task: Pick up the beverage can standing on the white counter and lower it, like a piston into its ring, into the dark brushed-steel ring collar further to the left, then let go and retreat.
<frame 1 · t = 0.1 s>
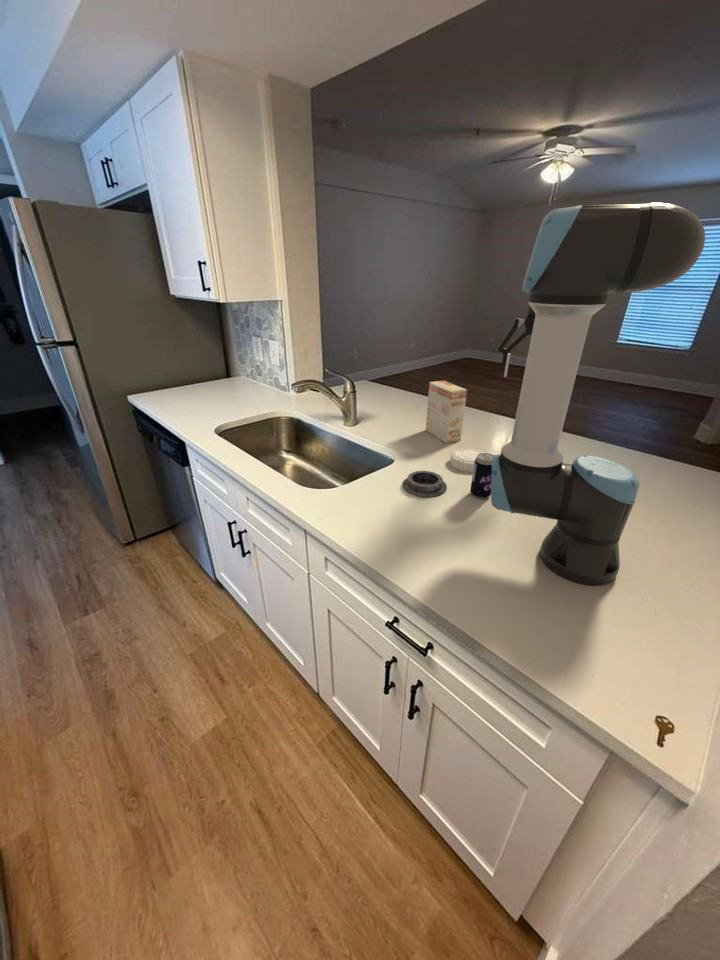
hand: (529, 377, 117), 28 cm above the worktop, fingers open, 13 cm apart
beverage can: (480, 495, 111), on the worktop
mooncake: (468, 465, 129), on the worktop
ring collar: (424, 486, 115), on the worktop
coffeecake box: (442, 435, 151), on the worktop
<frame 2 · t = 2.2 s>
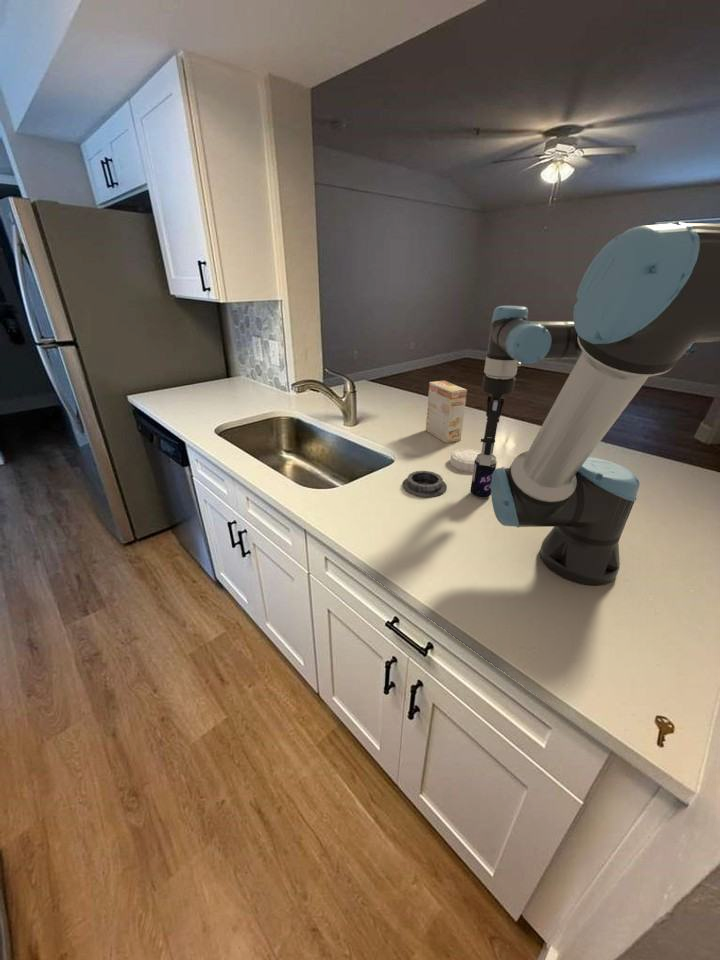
hand: (486, 454, 105), 13 cm above the worktop, fingers open, 13 cm apart
nothing on the worktop moved.
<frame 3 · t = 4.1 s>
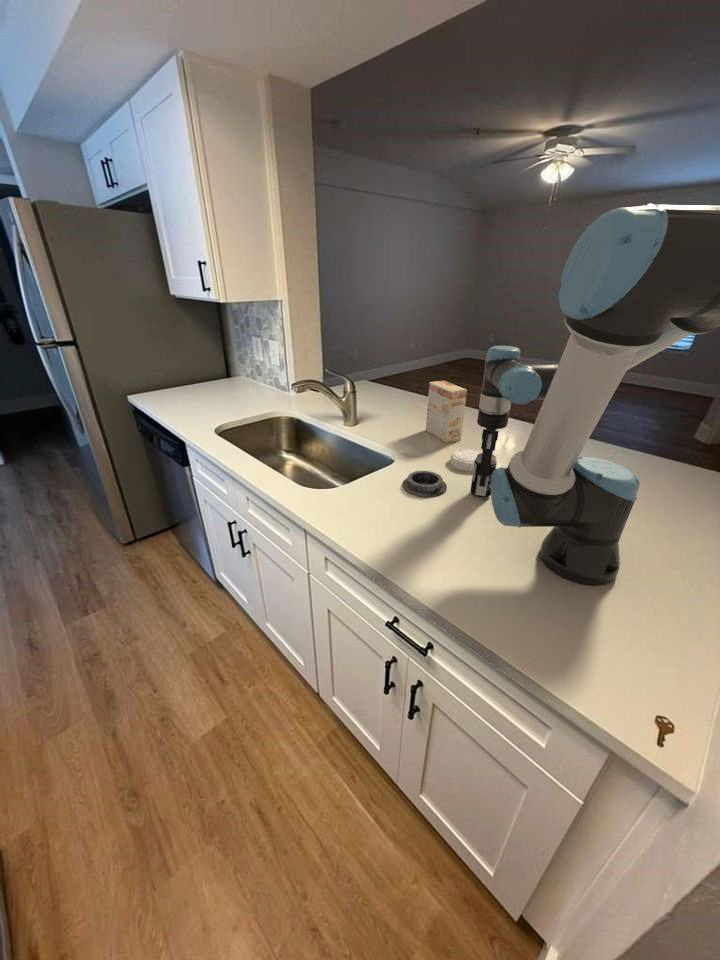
hand: (481, 489, 110), 2 cm above the worktop, fingers closed on beverage can, 6 cm apart
beverage can: (480, 495, 111), on the worktop, touching gripper
everything else where it was.
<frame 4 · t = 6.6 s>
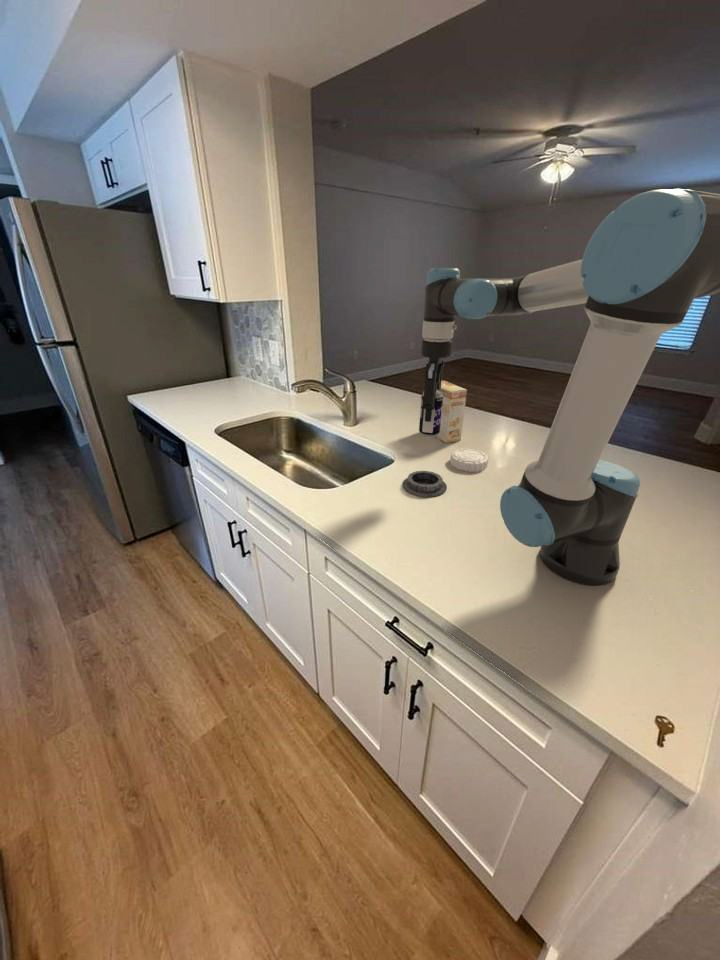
hand: (429, 427, 107), 18 cm above the worktop, fingers closed on beverage can, 6 cm apart
beverage can: (429, 434, 108), point 16 cm above the worktop, touching gripper
everything else where it was.
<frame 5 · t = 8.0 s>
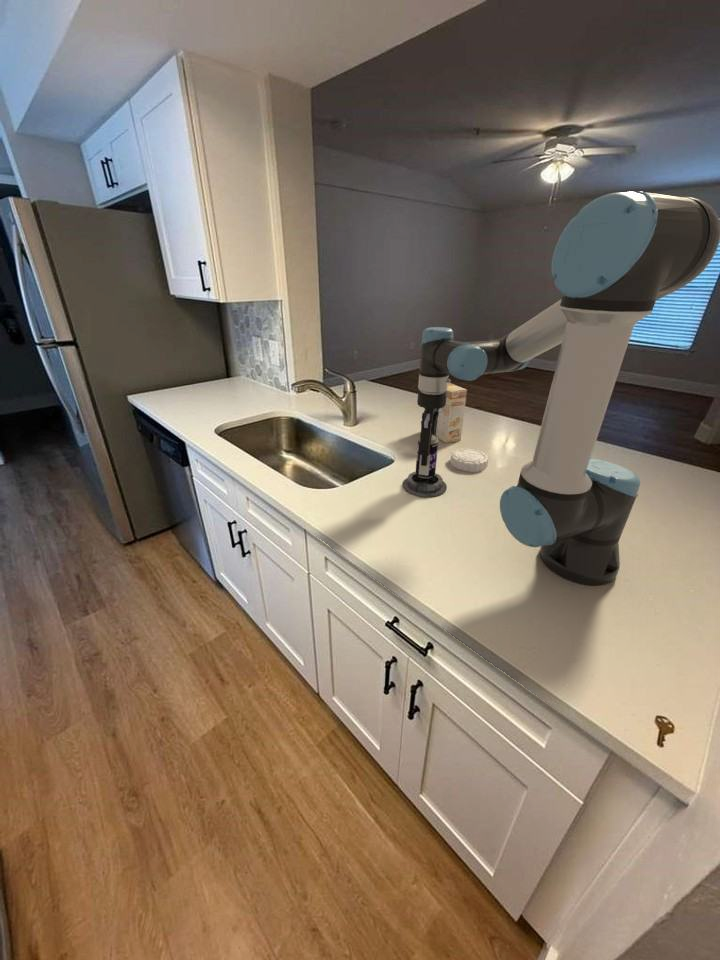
hand: (425, 469, 113), 6 cm above the worktop, fingers closed on beverage can, 6 cm apart
beverage can: (425, 475, 114), point 3 cm above the worktop, touching gripper
everything else where it was.
when the fingers open (4 cm above the worktop, at t = 8.9 s): beverage can drops 2 cm, resting on ring collar.
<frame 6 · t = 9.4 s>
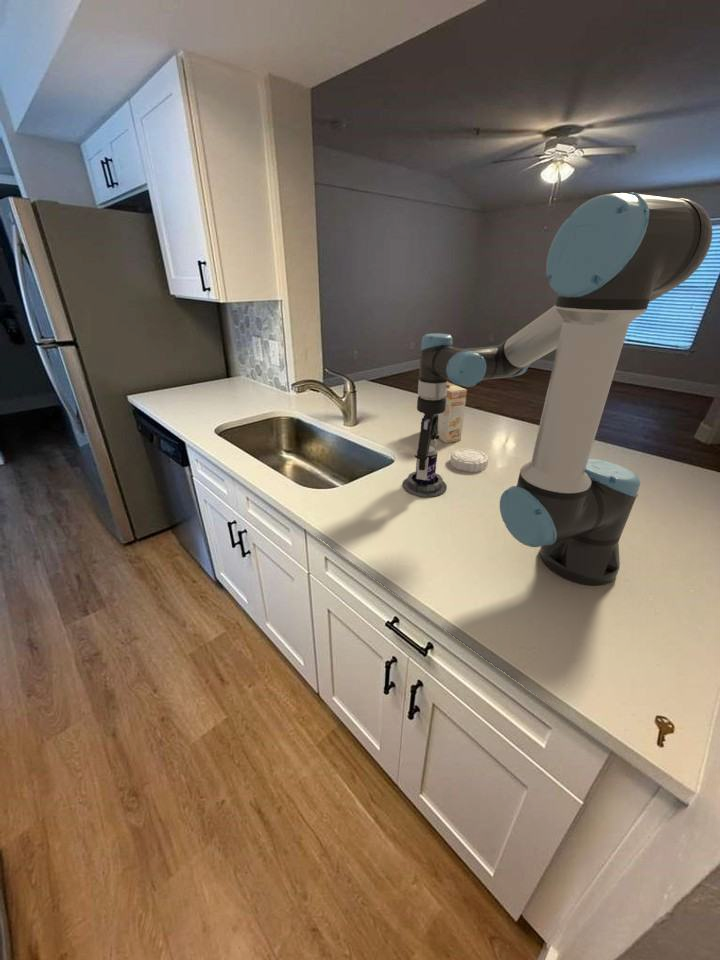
hand: (425, 469, 112), 6 cm above the worktop, fingers open, 12 cm apart
beverage can: (424, 485, 115), resting on ring collar
everything else where it was.
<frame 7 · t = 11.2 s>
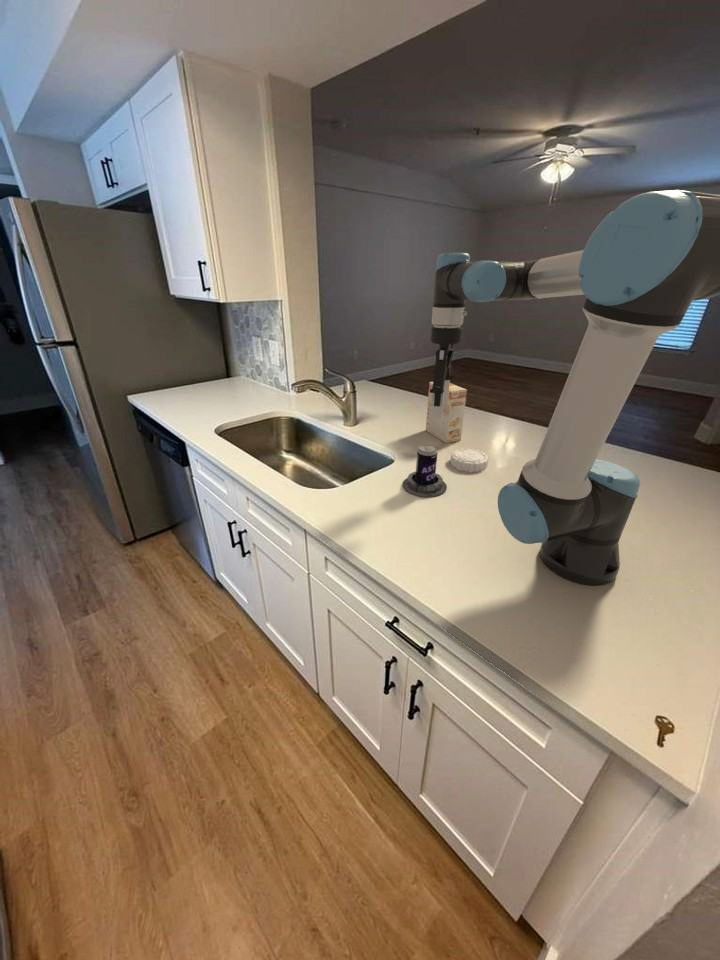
hand: (439, 410, 105), 23 cm above the worktop, fingers open, 13 cm apart
nothing on the worktop moved.
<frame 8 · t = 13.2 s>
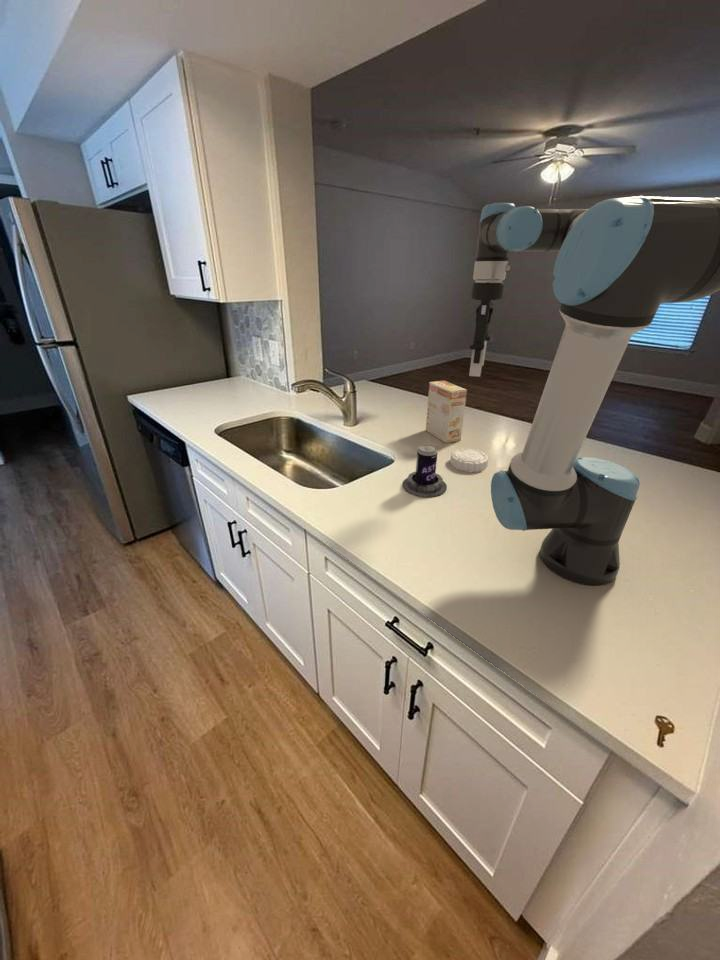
hand: (476, 370, 104), 33 cm above the worktop, fingers open, 13 cm apart
nothing on the worktop moved.
at the end: beverage can 0.2 cm from the ring collar (horizontally); beverage can resting on ring collar; beverage can tilted 0° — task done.
